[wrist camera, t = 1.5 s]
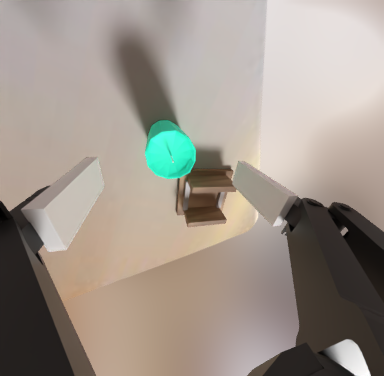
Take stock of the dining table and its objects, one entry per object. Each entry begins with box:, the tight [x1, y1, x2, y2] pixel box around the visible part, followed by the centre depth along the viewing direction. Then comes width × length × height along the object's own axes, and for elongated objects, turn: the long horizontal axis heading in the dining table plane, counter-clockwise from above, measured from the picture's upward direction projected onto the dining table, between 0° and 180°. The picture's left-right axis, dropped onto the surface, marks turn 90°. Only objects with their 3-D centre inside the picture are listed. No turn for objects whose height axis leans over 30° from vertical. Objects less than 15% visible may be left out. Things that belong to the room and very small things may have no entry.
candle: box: [145, 120, 196, 179], centre depth 20 cm, size 6×6×12 cm
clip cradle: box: [177, 169, 236, 227], centre depth 31 cm, size 12×12×6 cm
